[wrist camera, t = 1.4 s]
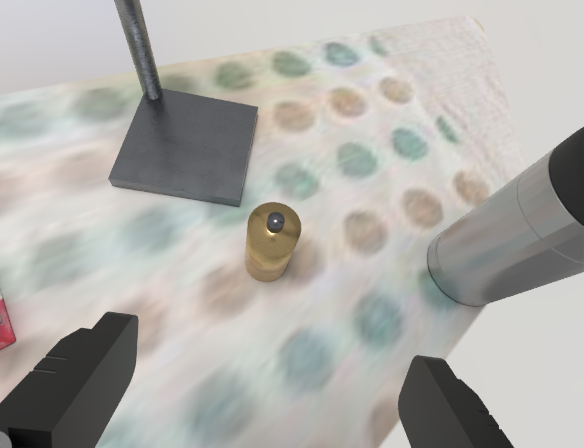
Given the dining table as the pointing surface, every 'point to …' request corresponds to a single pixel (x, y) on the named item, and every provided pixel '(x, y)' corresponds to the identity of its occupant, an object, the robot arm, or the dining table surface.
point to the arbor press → (180, 133)
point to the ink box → (5, 327)
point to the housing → (271, 240)
